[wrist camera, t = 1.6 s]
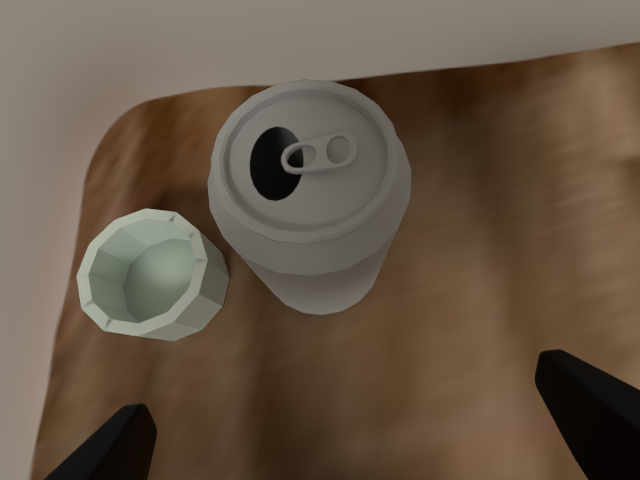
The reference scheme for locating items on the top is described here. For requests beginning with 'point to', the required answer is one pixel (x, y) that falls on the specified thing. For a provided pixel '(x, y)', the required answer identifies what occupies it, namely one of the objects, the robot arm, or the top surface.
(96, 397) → the top surface
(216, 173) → the can
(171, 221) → the bowl
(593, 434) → the robot arm
